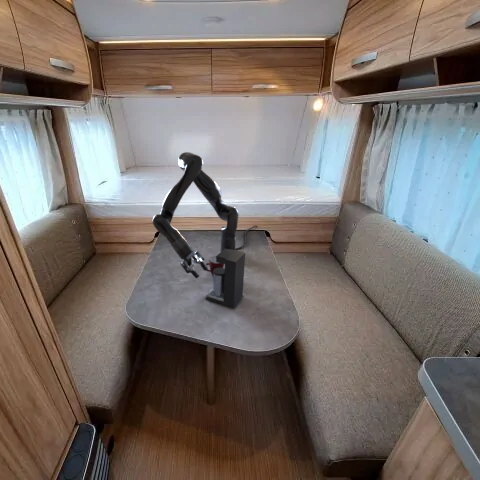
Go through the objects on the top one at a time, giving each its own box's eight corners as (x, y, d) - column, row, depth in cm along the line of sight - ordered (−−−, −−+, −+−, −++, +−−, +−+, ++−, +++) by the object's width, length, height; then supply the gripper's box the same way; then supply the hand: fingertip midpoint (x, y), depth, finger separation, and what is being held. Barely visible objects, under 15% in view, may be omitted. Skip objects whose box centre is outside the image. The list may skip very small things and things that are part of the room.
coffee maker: (205, 299, 128) (205, 254, 118) (216, 287, 137) (216, 245, 127) (233, 308, 121) (235, 262, 112) (242, 296, 130) (245, 252, 121)
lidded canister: (214, 289, 133) (215, 266, 128) (226, 291, 132) (227, 268, 126) (211, 296, 127) (211, 273, 122) (224, 298, 126) (225, 274, 121)
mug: (204, 279, 144) (204, 263, 140) (204, 271, 151) (204, 256, 147) (223, 279, 144) (224, 263, 140) (223, 272, 151) (223, 256, 147)
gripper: (178, 249, 123) (199, 276, 122) (194, 238, 134) (213, 263, 134) (169, 257, 127) (190, 283, 127) (185, 246, 139) (204, 270, 138)
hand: (202, 273), depth 130 cm, fingers open, 8 cm apart
